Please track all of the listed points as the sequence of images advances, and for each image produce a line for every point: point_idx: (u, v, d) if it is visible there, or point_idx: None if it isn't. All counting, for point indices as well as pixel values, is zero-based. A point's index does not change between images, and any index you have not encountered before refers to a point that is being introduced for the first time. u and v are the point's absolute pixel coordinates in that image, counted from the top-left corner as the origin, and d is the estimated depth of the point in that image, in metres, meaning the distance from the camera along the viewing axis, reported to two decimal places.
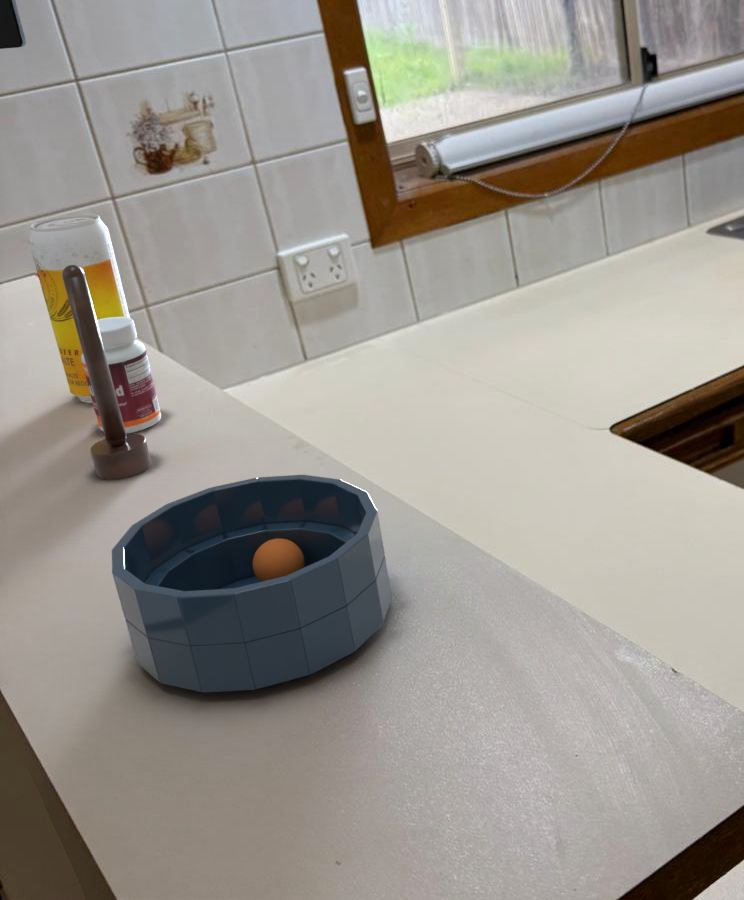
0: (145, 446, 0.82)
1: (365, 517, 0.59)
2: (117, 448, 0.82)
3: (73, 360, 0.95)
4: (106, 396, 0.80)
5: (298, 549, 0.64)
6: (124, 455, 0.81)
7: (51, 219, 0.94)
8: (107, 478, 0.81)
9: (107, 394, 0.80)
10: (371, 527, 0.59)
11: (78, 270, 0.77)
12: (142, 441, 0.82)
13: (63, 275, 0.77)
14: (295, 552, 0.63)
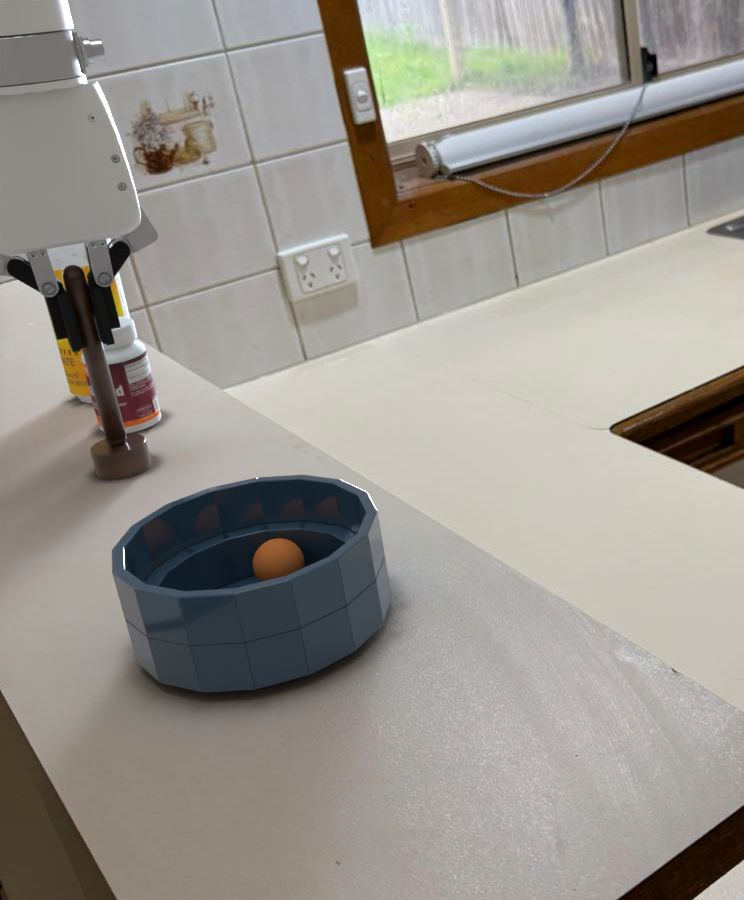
0: (145, 446, 0.82)
1: (365, 517, 0.59)
2: (117, 448, 0.82)
3: (73, 360, 0.95)
4: (106, 396, 0.80)
5: (298, 549, 0.64)
6: (124, 455, 0.81)
7: None
8: (107, 478, 0.81)
9: (107, 394, 0.80)
10: (371, 527, 0.59)
11: (78, 270, 0.77)
12: (142, 441, 0.82)
13: (63, 275, 0.77)
14: (295, 552, 0.63)
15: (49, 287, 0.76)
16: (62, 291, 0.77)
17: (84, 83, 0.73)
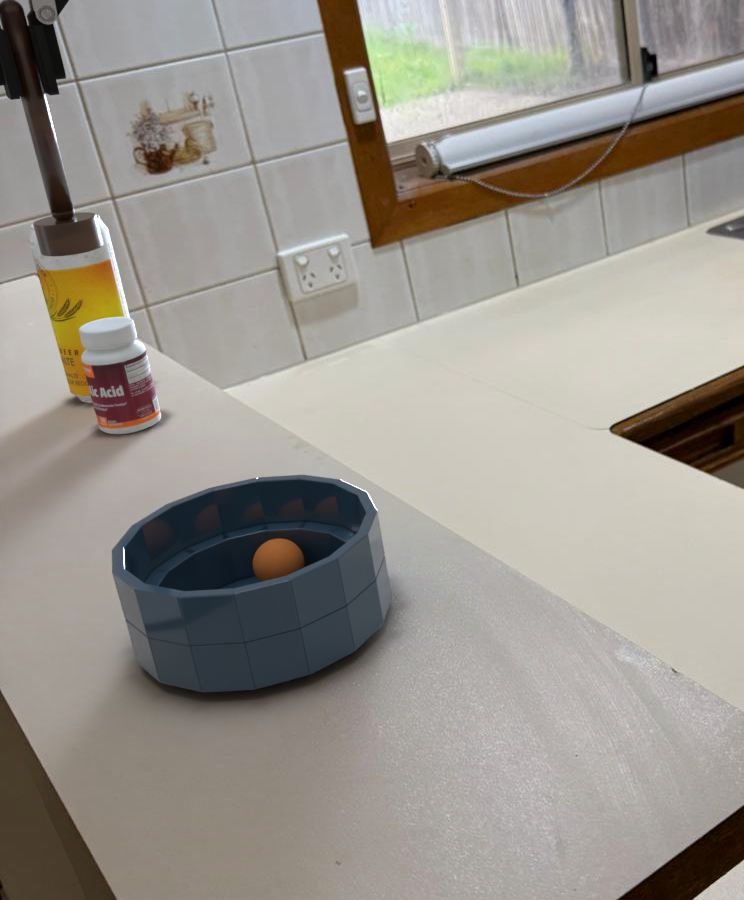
0: (95, 222, 0.74)
1: (365, 517, 0.59)
2: (64, 221, 0.73)
3: (73, 360, 0.95)
4: (50, 158, 0.71)
5: (298, 549, 0.64)
6: (71, 227, 0.72)
7: None
8: (52, 254, 0.72)
9: (51, 156, 0.71)
10: (371, 527, 0.59)
11: (17, 4, 0.68)
12: (92, 216, 0.73)
13: None
14: (295, 552, 0.63)
15: None
16: None
17: None
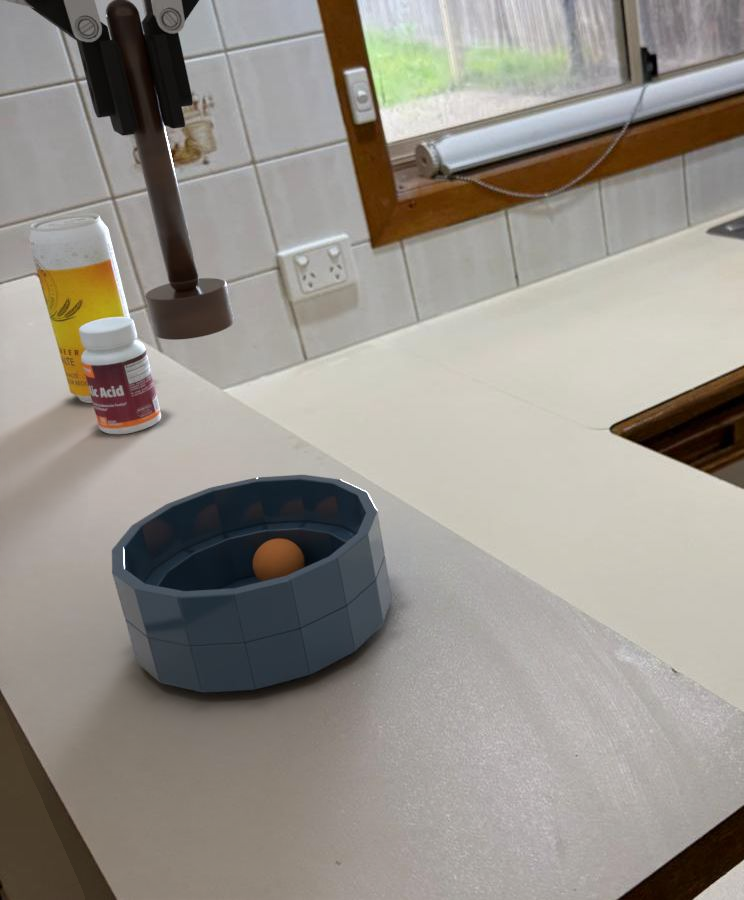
0: (226, 292, 0.56)
1: (365, 517, 0.59)
2: (186, 292, 0.55)
3: (73, 360, 0.95)
4: (170, 211, 0.54)
5: (298, 549, 0.64)
6: (197, 301, 0.54)
7: (51, 219, 0.94)
8: (172, 337, 0.55)
9: (172, 208, 0.53)
10: (371, 527, 0.59)
11: (131, 6, 0.50)
12: (222, 284, 0.56)
13: (107, 13, 0.50)
14: (295, 552, 0.63)
15: (87, 26, 0.49)
16: (107, 37, 0.50)
17: None
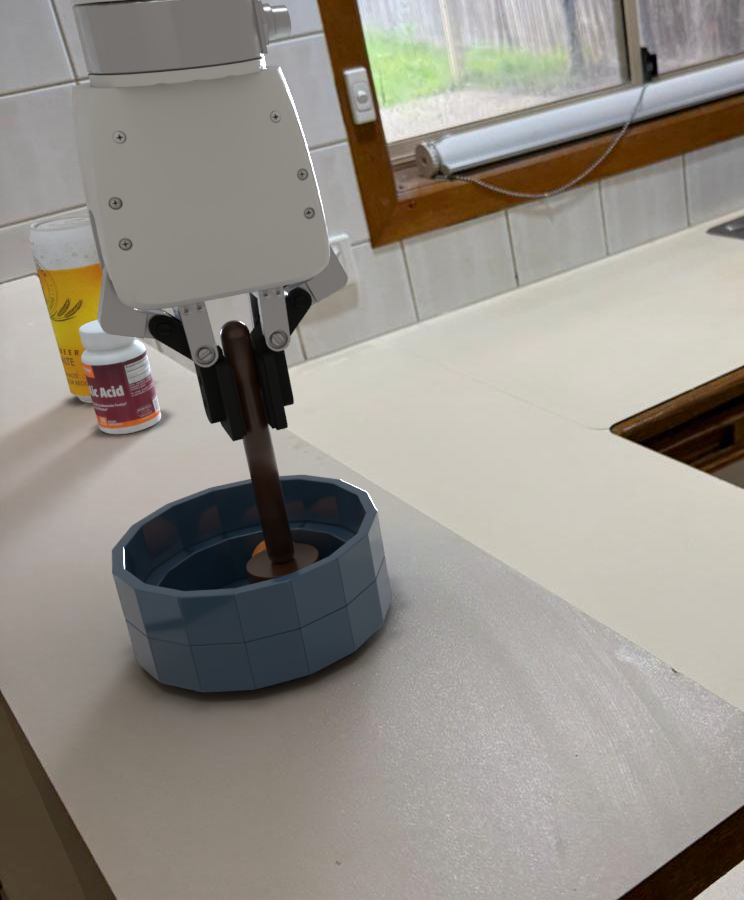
0: None
1: (365, 517, 0.59)
2: (284, 566, 0.60)
3: (73, 360, 0.95)
4: (272, 498, 0.59)
5: None
6: None
7: (51, 219, 0.94)
8: None
9: (273, 496, 0.59)
10: (371, 527, 0.59)
11: (243, 328, 0.55)
12: (315, 556, 0.61)
13: (222, 335, 0.55)
14: None
15: (205, 353, 0.54)
16: (221, 358, 0.55)
17: (264, 67, 0.51)
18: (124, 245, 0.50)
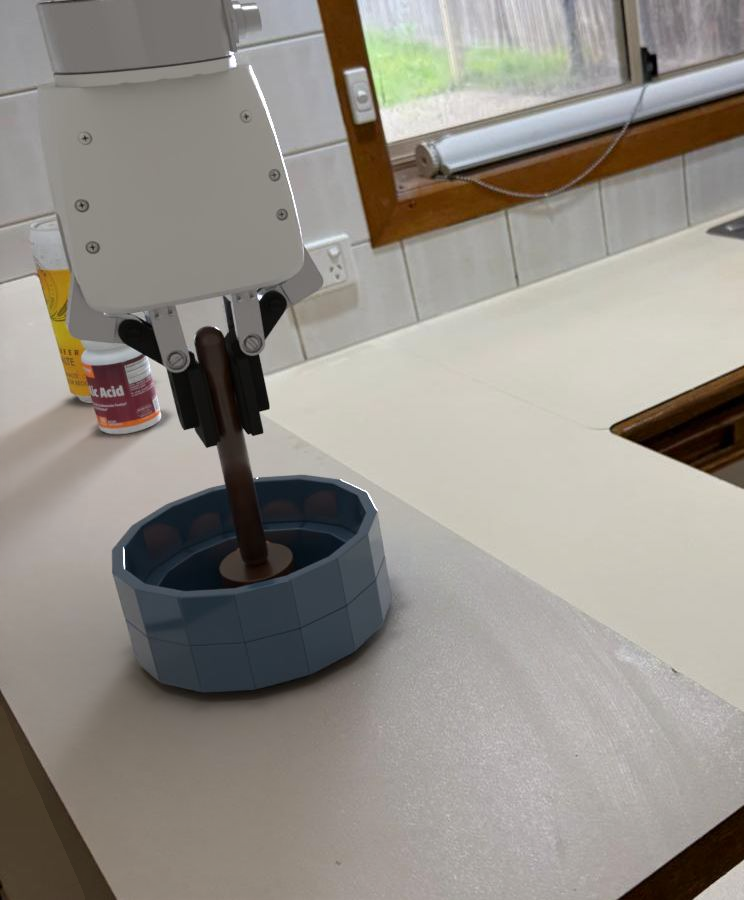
0: (287, 573, 0.60)
1: (365, 517, 0.59)
2: (250, 570, 0.59)
3: (73, 360, 0.95)
4: (240, 504, 0.58)
5: None
6: None
7: (51, 219, 0.94)
8: None
9: (241, 502, 0.58)
10: (371, 527, 0.59)
11: (213, 336, 0.54)
12: (284, 566, 0.60)
13: (194, 340, 0.54)
14: None
15: (177, 358, 0.53)
16: (193, 363, 0.54)
17: (234, 66, 0.50)
18: (91, 248, 0.49)
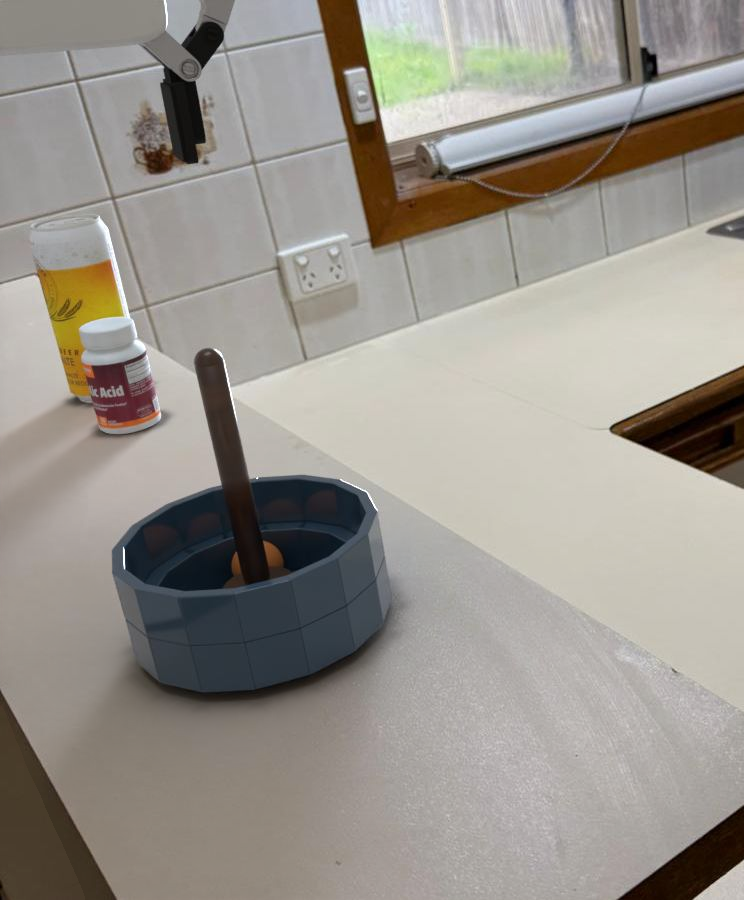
0: None
1: (365, 517, 0.59)
2: None
3: (73, 360, 0.95)
4: (241, 525, 0.58)
5: (268, 563, 0.63)
6: None
7: (51, 219, 0.94)
8: None
9: (242, 523, 0.58)
10: (371, 527, 0.59)
11: (213, 357, 0.55)
12: None
13: (194, 362, 0.55)
14: None
15: None
16: None
17: None
18: None
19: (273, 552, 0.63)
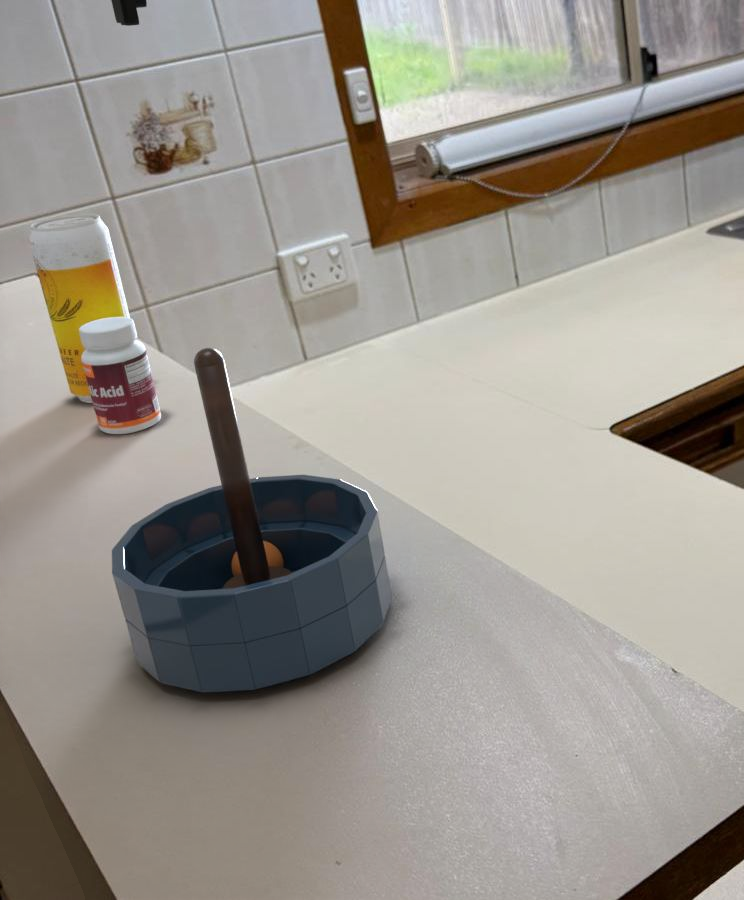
0: None
1: (365, 517, 0.59)
2: None
3: (73, 360, 0.95)
4: (241, 525, 0.58)
5: (268, 563, 0.63)
6: None
7: (51, 219, 0.94)
8: None
9: (242, 523, 0.58)
10: (371, 527, 0.59)
11: (213, 357, 0.55)
12: None
13: (194, 362, 0.55)
14: None
15: None
16: None
17: None
18: None
19: (273, 552, 0.63)
